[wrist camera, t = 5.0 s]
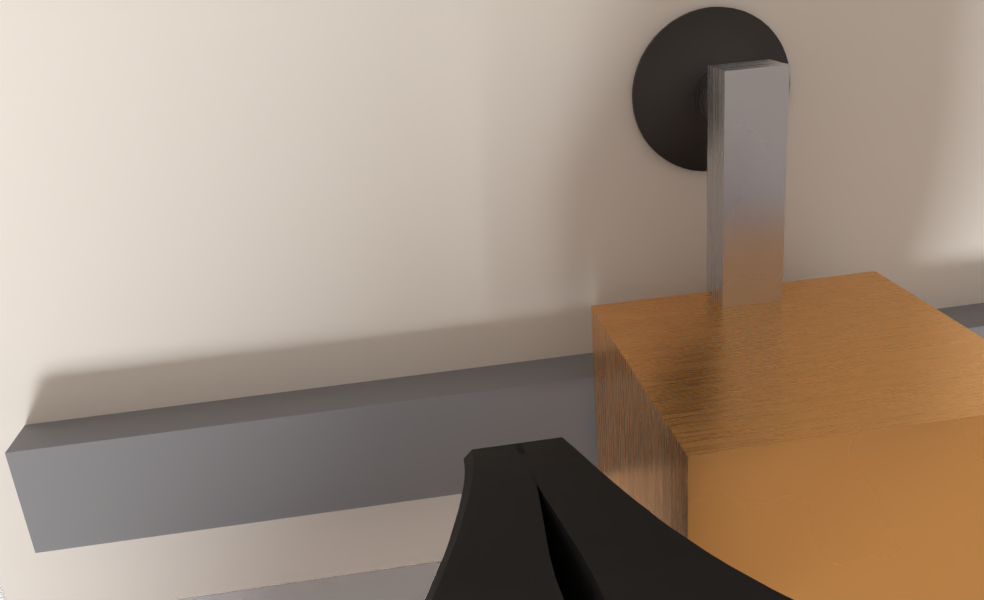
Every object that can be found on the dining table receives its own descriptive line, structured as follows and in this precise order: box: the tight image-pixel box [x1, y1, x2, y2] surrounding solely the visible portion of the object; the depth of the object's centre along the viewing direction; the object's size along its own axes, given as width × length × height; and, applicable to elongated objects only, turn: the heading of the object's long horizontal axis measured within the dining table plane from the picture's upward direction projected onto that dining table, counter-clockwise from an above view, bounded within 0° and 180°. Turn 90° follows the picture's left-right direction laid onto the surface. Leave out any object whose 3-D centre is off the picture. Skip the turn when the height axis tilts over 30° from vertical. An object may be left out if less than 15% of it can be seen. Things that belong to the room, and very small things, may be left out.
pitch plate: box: [0, 0, 984, 600], centre depth 12 cm, size 22×9×6 cm, turn 94°
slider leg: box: [591, 59, 984, 600], centre depth 11 cm, size 4×7×5 cm, turn 4°
